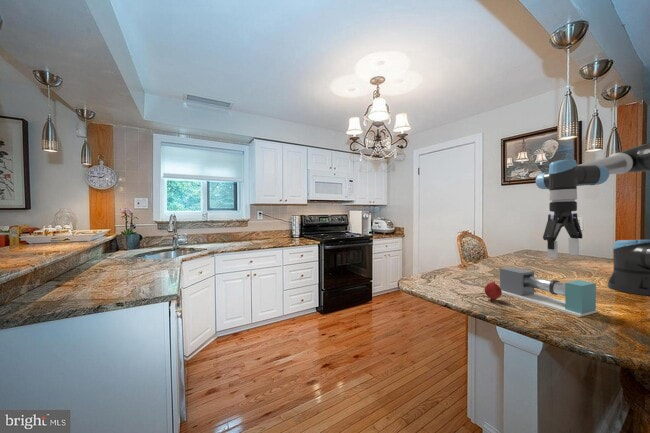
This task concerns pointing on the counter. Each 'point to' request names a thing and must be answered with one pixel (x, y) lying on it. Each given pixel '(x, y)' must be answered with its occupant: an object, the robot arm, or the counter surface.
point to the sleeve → (515, 281)
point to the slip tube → (545, 285)
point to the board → (547, 302)
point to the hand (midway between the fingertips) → (563, 256)
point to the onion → (493, 290)
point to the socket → (580, 296)
